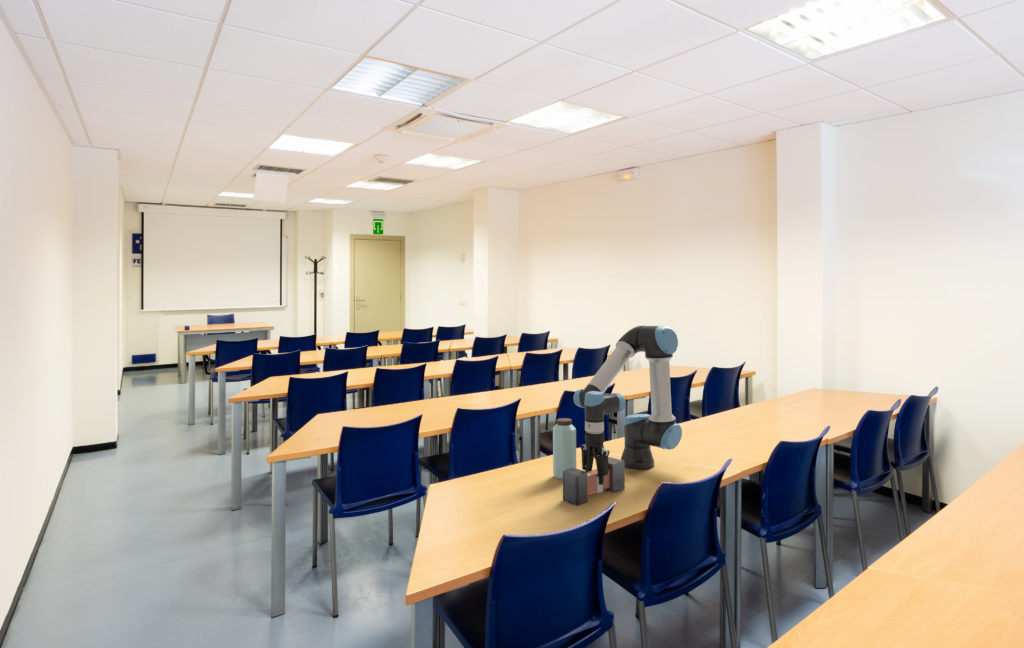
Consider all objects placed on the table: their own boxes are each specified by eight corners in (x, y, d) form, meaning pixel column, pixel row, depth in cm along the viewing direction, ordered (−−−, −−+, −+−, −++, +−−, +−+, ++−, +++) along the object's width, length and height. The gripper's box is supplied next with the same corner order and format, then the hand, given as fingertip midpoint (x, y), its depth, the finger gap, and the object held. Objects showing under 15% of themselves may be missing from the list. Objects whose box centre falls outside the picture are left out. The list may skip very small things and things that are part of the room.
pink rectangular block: (610, 481, 223) (610, 464, 223) (618, 484, 220) (618, 466, 220) (579, 491, 212) (579, 473, 212) (587, 494, 209) (587, 476, 208)
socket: (573, 496, 212) (573, 467, 212) (587, 502, 207) (587, 472, 206) (563, 500, 209) (562, 470, 208) (576, 505, 203) (576, 475, 202)
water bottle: (575, 481, 230) (574, 422, 229) (551, 480, 232) (551, 422, 231) (577, 474, 240) (576, 417, 239) (554, 472, 242) (554, 417, 241)
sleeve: (610, 484, 226) (610, 457, 225) (624, 489, 220) (624, 461, 219) (599, 488, 221) (598, 460, 221) (613, 493, 216) (612, 464, 215)
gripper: (572, 429, 218) (572, 487, 219) (604, 437, 204) (605, 498, 205) (585, 426, 222) (585, 482, 223) (617, 434, 209) (618, 494, 210)
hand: (594, 490), depth 214 cm, fingers closed on pink rectangular block, 4 cm apart
